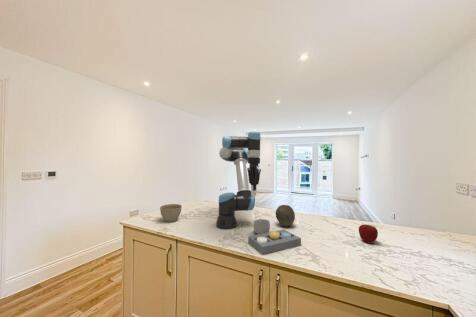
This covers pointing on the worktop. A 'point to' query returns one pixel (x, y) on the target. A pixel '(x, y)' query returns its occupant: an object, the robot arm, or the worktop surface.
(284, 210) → the smooth brown stone
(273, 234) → the button ochre
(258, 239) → the button ivory
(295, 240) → the three ball holder
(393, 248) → the worktop surface
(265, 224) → the teacup
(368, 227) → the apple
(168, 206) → the planter bowl
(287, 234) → the button blue
